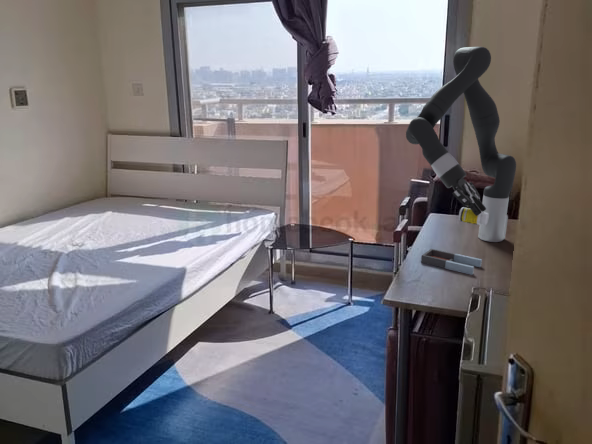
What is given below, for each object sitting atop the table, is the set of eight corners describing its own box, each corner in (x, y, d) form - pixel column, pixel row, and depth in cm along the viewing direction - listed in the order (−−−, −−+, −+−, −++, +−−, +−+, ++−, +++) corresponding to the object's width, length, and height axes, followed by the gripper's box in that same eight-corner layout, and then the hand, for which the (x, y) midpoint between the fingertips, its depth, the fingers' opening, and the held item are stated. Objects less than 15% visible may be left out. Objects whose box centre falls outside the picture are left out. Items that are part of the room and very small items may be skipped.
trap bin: (421, 262, 176) (421, 255, 175) (430, 255, 182) (431, 248, 181) (445, 268, 171) (446, 261, 170) (454, 260, 177) (455, 253, 177)
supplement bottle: (457, 222, 167) (483, 228, 162) (459, 208, 165) (486, 214, 161) (462, 218, 170) (488, 224, 166) (463, 205, 169) (490, 210, 164)
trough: (445, 268, 170) (445, 261, 170) (454, 260, 178) (455, 253, 177) (472, 274, 165) (473, 267, 165) (481, 266, 173) (481, 259, 172)
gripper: (449, 166, 159) (484, 210, 156) (464, 160, 170) (497, 201, 167) (431, 180, 164) (465, 224, 160) (447, 173, 175) (478, 214, 172)
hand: (481, 212), depth 164 cm, fingers closed on supplement bottle, 4 cm apart
